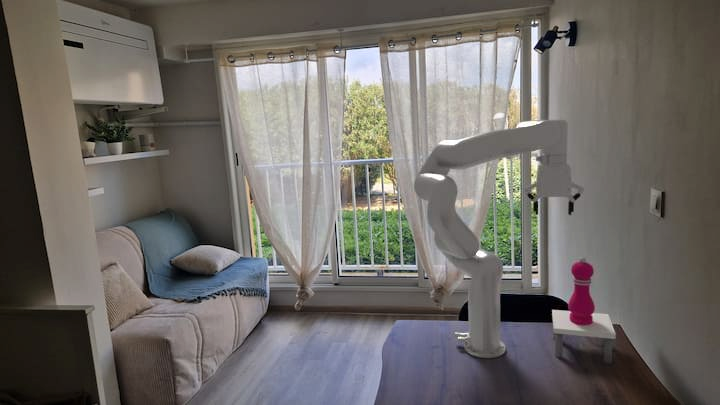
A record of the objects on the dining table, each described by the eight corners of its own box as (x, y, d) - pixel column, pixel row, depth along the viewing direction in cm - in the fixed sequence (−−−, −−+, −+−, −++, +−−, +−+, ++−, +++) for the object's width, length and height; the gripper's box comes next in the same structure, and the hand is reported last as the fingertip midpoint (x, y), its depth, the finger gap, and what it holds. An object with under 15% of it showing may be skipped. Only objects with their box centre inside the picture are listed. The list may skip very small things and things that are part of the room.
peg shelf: (553, 358, 136) (554, 328, 135) (551, 337, 149) (552, 309, 148) (614, 365, 131) (615, 334, 129) (607, 342, 144) (608, 314, 142)
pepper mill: (597, 326, 134) (599, 260, 131) (571, 325, 136) (572, 260, 132) (590, 316, 141) (592, 253, 138) (565, 315, 143) (566, 253, 139)
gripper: (524, 161, 142) (523, 216, 145) (586, 160, 136) (584, 216, 139) (524, 159, 149) (524, 211, 152) (583, 158, 143) (582, 212, 146)
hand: (553, 214), depth 145 cm, fingers open, 9 cm apart
